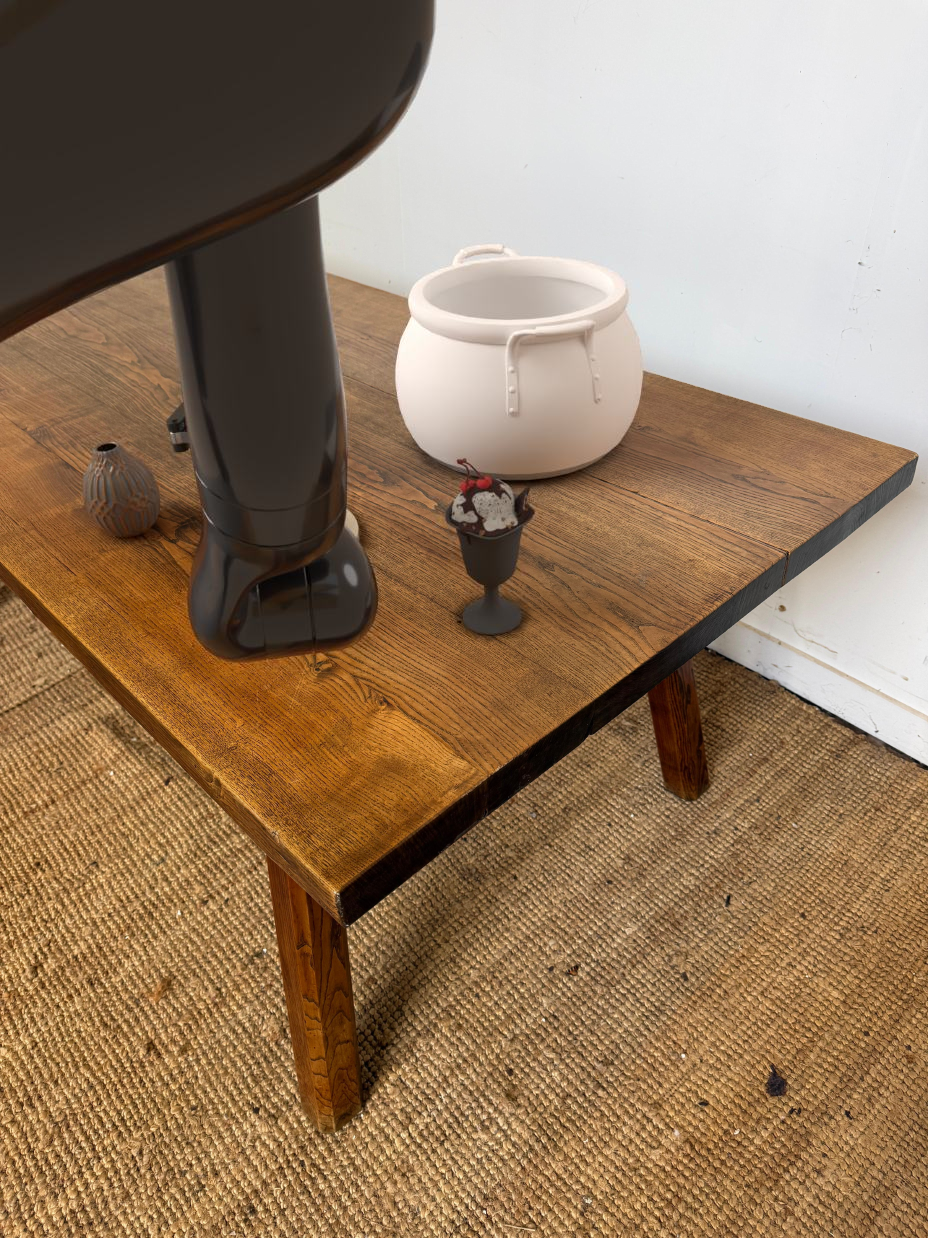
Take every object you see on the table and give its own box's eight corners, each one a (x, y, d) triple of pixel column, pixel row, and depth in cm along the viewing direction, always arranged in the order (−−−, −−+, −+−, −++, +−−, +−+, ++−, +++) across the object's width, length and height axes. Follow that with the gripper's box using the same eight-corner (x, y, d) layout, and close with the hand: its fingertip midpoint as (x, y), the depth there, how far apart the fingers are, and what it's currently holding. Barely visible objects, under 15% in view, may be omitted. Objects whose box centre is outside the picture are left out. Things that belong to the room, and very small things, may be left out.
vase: (84, 527, 88) (55, 447, 82) (147, 501, 91) (124, 423, 86) (114, 554, 83) (86, 471, 78) (180, 525, 87) (157, 445, 82)
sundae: (435, 620, 73) (422, 458, 64) (488, 584, 77) (483, 425, 68) (494, 653, 69) (490, 486, 60) (548, 613, 73) (551, 450, 64)
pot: (380, 402, 108) (364, 256, 98) (583, 373, 113) (589, 230, 102) (432, 520, 86) (419, 347, 75) (683, 477, 90) (704, 308, 80)
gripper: (354, 403, 62) (323, 324, 75) (147, 434, 60) (153, 347, 73) (366, 496, 67) (335, 406, 80) (175, 528, 64) (176, 430, 77)
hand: (248, 378), depth 76 cm, fingers closed on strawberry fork, 3 cm apart
